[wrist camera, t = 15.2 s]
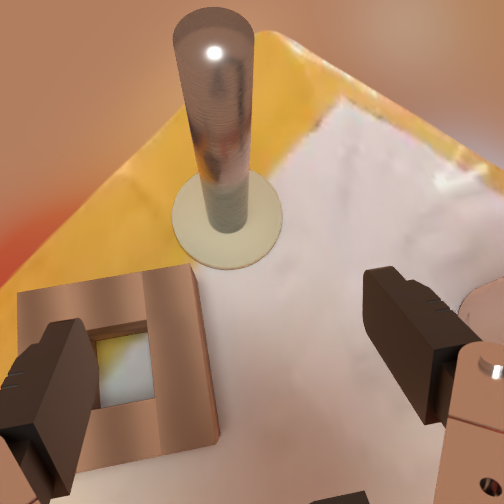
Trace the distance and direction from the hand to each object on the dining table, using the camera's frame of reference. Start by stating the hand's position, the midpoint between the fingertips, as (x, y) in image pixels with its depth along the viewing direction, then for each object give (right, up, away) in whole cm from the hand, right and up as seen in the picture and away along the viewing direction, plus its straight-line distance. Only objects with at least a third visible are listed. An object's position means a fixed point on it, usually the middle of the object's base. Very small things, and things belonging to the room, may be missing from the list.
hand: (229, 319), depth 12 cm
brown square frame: (-10, -9, +26) cm, 29 cm away
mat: (-2, +5, +30) cm, 31 cm away
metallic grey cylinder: (-2, +6, +29) cm, 30 cm away
